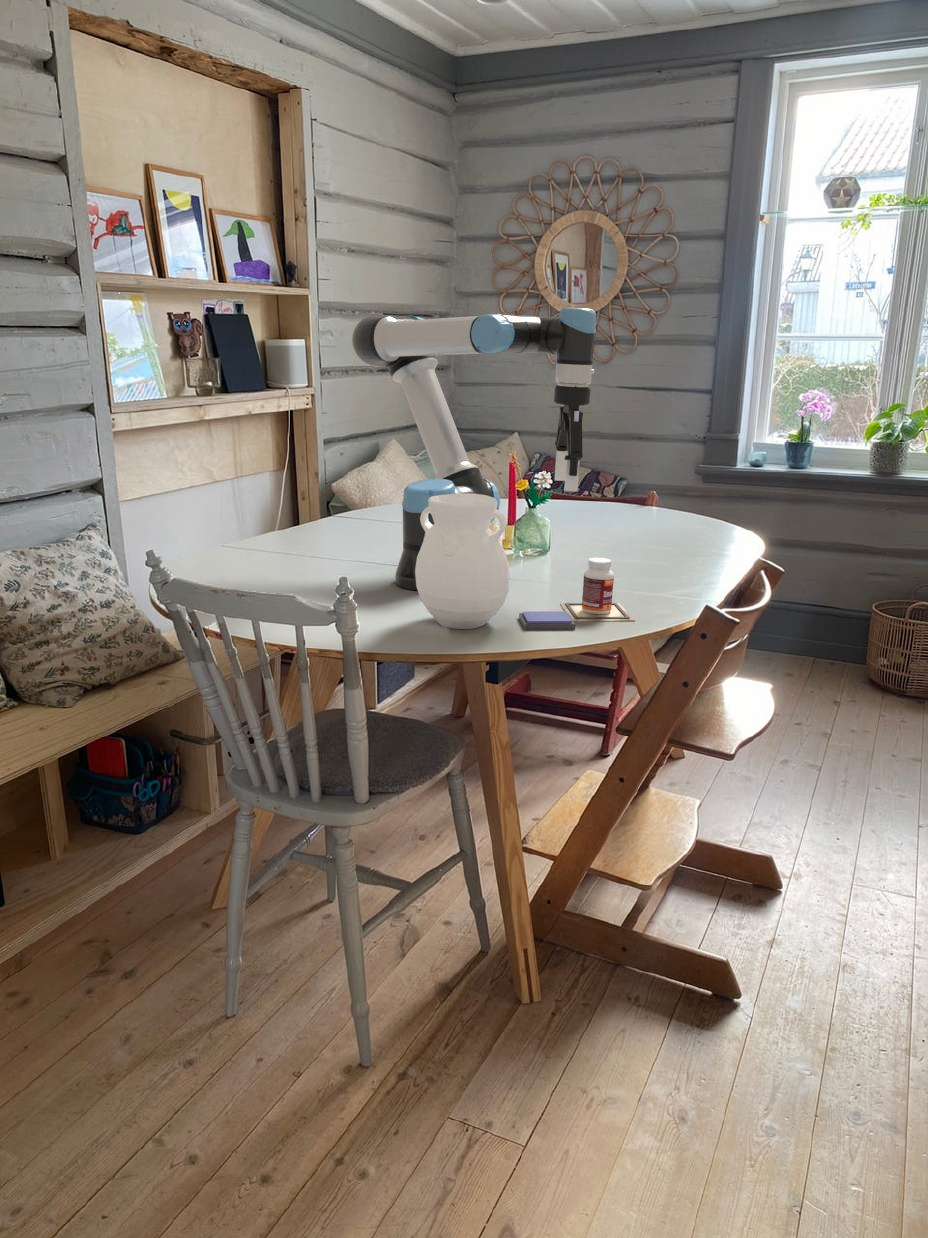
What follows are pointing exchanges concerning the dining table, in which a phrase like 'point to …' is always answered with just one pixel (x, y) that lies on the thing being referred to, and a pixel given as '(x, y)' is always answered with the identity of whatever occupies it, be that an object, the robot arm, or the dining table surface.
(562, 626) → the ink pad
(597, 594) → the pill bottle
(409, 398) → the robot arm
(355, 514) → the dining table surface
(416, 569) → the white ceramic vase
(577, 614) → the cream flat square
